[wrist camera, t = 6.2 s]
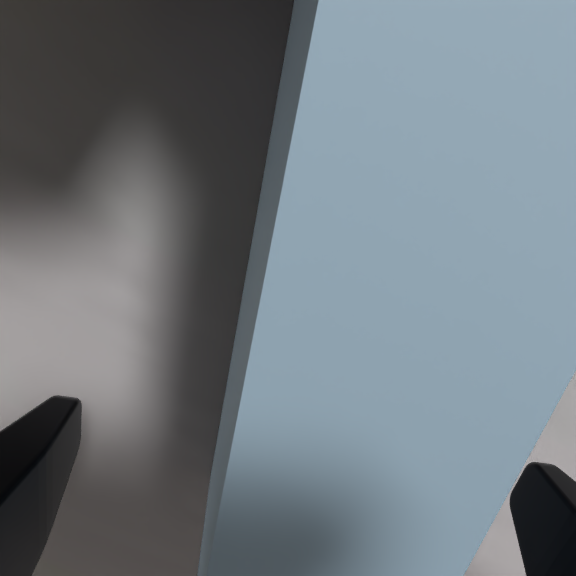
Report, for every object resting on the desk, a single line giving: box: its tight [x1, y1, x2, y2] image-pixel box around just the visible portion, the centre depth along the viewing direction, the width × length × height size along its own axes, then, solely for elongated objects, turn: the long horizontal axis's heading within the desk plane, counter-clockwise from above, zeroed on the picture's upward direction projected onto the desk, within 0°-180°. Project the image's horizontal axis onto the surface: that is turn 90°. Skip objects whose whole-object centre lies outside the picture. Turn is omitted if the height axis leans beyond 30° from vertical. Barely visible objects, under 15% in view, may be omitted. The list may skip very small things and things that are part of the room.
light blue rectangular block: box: [197, 0, 576, 576], centre depth 8 cm, size 13×3×5 cm, turn 169°
